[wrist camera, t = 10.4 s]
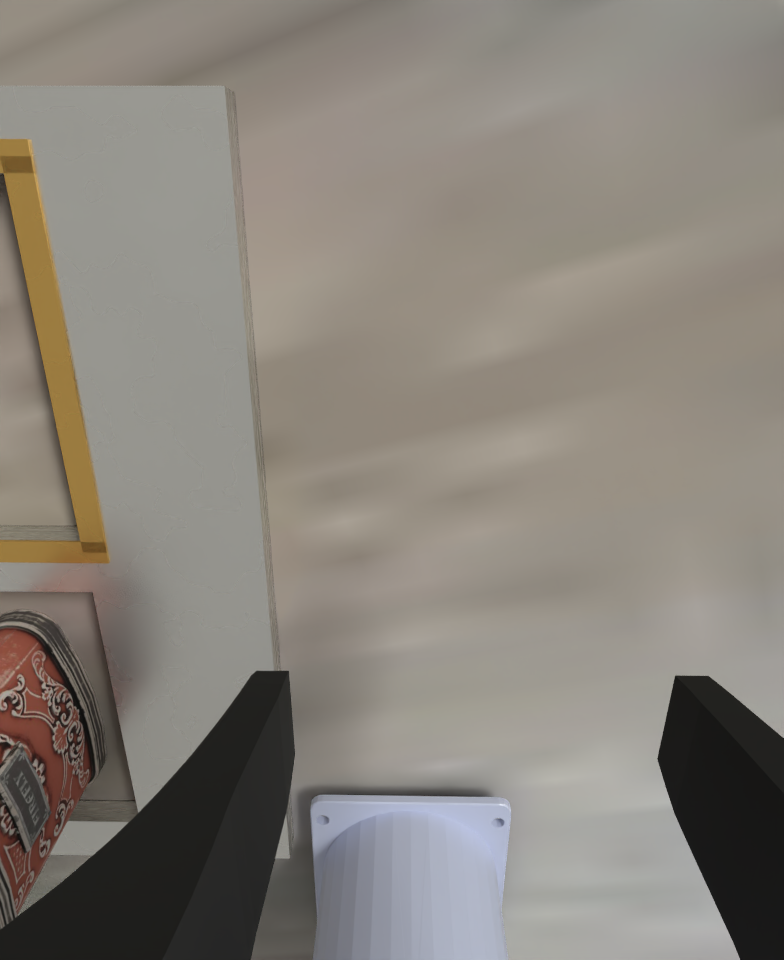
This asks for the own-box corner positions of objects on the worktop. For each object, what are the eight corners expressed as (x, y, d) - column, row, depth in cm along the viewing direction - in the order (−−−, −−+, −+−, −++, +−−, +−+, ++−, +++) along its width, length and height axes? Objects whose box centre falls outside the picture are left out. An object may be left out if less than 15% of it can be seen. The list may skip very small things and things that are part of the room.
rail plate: (293, 837, 29) (289, 860, 27) (-119, 831, 29) (-138, 853, 28) (233, 91, 17) (223, 85, 16) (-434, 91, 18) (-484, 85, 17)
